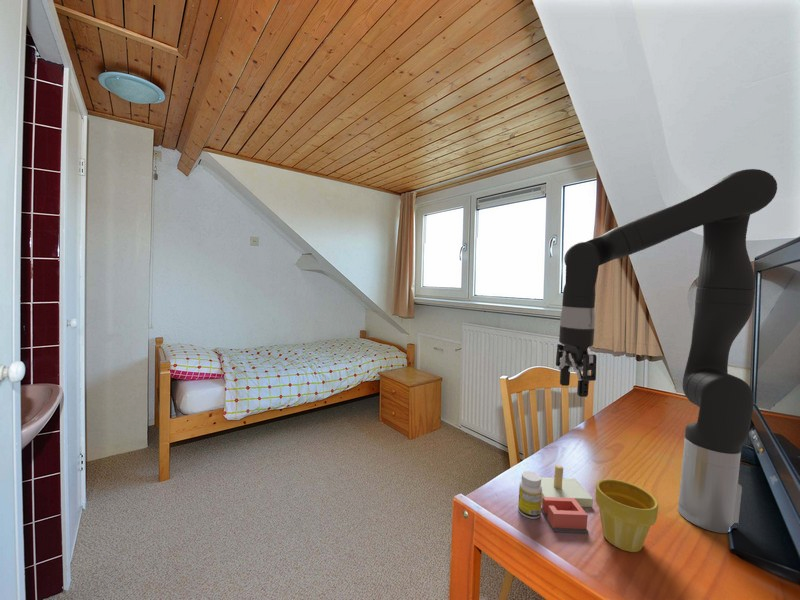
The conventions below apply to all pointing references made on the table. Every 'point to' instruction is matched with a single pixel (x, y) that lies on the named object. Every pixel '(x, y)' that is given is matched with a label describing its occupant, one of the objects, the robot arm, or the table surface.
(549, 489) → the stand
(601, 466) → the table surface
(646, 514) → the plant pot
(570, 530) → the coaster
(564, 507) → the c link
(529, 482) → the supplement bottle
